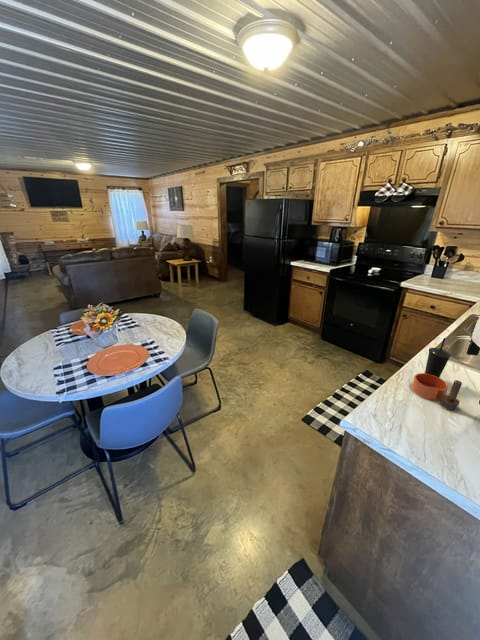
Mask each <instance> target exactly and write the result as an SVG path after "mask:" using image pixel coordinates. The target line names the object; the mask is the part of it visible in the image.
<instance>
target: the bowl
mask: <svg viewBox="0 0 480 640" xmlns="http://www.w3.org/2000/svg"><path fill="white" fill-rule="evenodd" d="M448 389H449V384H448V383H447V382H446V381H445V380H444V379H443V378H440V377H436V376H434V375H430V374H425V372H423V373H421V372H420V373H416V374H415V375H414V378H413V380H412V384H411V390H412V391H413V392H414V393H415V394H416V395H418V396H419V397H421V398H423V399H426V400H430V401H434V402H435V401H437V402H438V401H443V396H445V395H447V392H448Z"/></svg>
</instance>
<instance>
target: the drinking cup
mask: <svg viewBox="0 0 480 640" xmlns="http://www.w3.org/2000/svg"><path fill="white" fill-rule="evenodd" d="M446 339H447V338H446V337H443V339H442V342H441V345H440V347H430V348H429V349H428V355H427V360H426V365H425V370H424V373H425V374H430V375H434V376H436V377H439V378H440V377H441V375H442V373H443V371H444V369H445V368H446V366H447V364H448V362H449V360H450V359H451V357H452V353H451V352H449V351H448V350H446V349H444V345H445V342H446Z"/></svg>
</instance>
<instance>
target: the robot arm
mask: <svg viewBox="0 0 480 640" xmlns="http://www.w3.org/2000/svg"><path fill="white" fill-rule="evenodd" d="M469 337H470V340H469V344H468V347H467V350H466V355H468V356H479V354H480V314H478V320H477V322H476V323H475V327H474V328H472V329H471V335H470V336H469Z"/></svg>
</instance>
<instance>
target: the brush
mask: <svg viewBox="0 0 480 640" xmlns="http://www.w3.org/2000/svg"><path fill="white" fill-rule="evenodd" d="M462 385H463V382H462V381H461V380H456V379H455V380H454V381H453V383H452V386H451V388H450V391H449V393H448V395H447V394H446V395H445V396H443V399H442V400H441V406H442V407H443V408H444V409H446V410H448V411H451V412H452V411H453V412H454V411H456V410H457V408H458V406H459V405H460V401H459V399H458V398H457V397H458V395H459V393H460V390H461V387H462Z"/></svg>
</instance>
